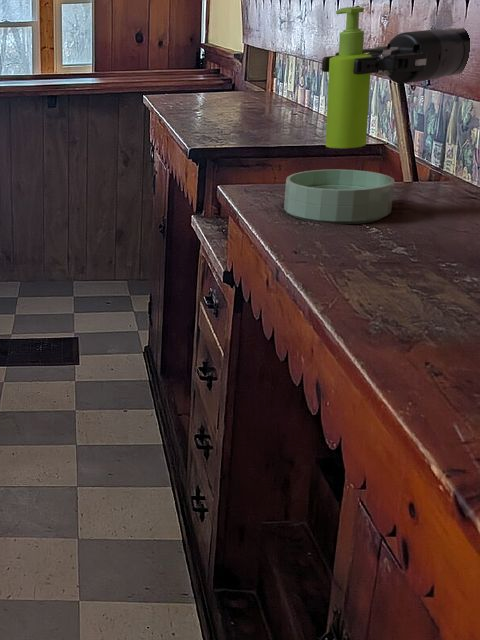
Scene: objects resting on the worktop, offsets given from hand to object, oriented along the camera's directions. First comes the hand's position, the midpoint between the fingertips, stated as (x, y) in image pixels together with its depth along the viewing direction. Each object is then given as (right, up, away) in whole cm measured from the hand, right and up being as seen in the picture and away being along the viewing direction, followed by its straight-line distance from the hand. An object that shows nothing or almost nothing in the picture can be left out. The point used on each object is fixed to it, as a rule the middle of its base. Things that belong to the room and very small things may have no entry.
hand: (339, 65), depth 129 cm
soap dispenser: (+3, -11, +6) cm, 12 cm away
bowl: (+4, -20, +11) cm, 23 cm away
